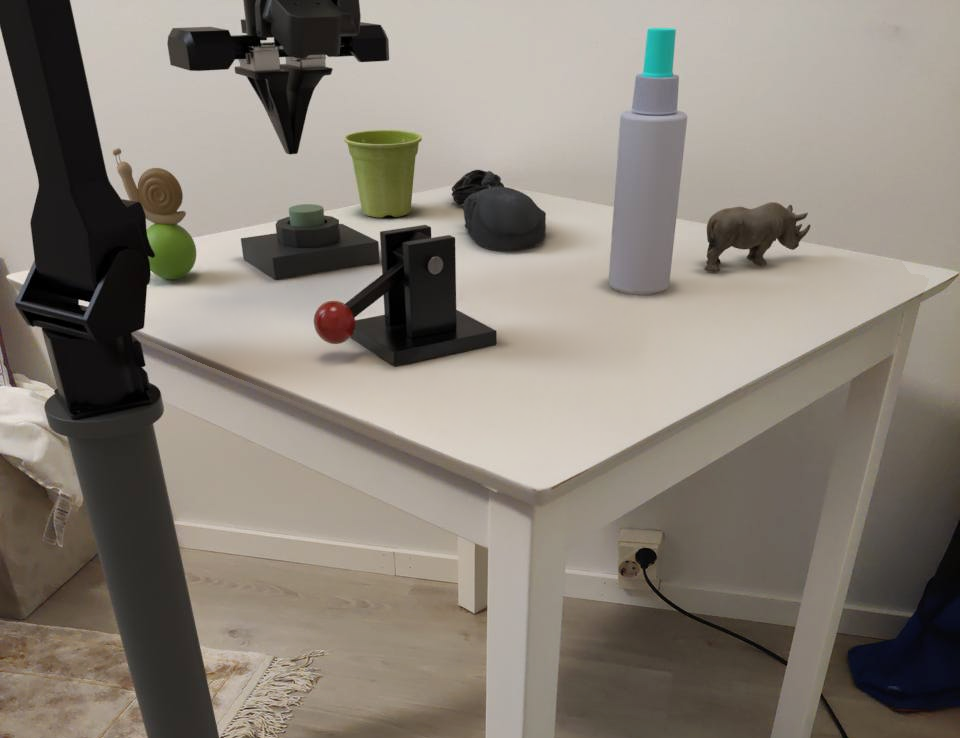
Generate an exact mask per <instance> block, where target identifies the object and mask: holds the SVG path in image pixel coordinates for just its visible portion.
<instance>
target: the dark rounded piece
mask: <svg viewBox="0 0 960 738" xmlns="http://www.w3.org/2000/svg"><path fill="white" fill-rule="evenodd" d="M450 189H451V196H452V198H453V199H452V200H453V201H454V203H457V204H460V205H462V206H463V218H464V227H465V229H466V231H467V233H468V236H469V237H470V238H471V240H472V241H473V242H474V243H475V244H476V245H478V246H479V247H482V248H484V249H489V250H494V251H519V250H527V249H531V248H535V247H537V246H538V245H540V244H541V243H543V241H544V239H545V238H546V227H547V226H546V225H547V224H546V221H547V218H546V216H547V214H546V211H545V210H543V209H541V208H540V207H539V206H538V205H537V203H535V202H534V200H533V199H532V198H531V197H530V196H529V195H527V194H526V193H523V192H521V191H520V190H518V189H515V188H512V187H507V186H505V185H504V183H503V182H502V178H501V176H500V175H498V174H496V173H494V172H493V171H491V170H487V171H486V170H482V169H474V170H471V171H469V172H467V173H465V174H464V175H462V177H460V179H458V180H457V181H456V183H455V184H453V185H452V187H451V188H450Z"/></svg>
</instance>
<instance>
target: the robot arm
mask: <svg viewBox="0 0 960 738" xmlns="http://www.w3.org/2000/svg"><path fill="white" fill-rule="evenodd" d="M242 2H243V10H244V18H243V19H242V18H241V19H240V26H241V34H238V35H237V34H235V35H234V34H233V35H232V34H231V32H230V30H229V29H225V28H219V27H214V26H196V27H195V26H194V27H193V26H192V27H191V26H190V27H172V28H171V30H170V32H169V34H168V36H167V41H166V42H167V44H166V45H167V52H168V55H169V56H168V58H169V64H170V66H172V67H176V68H179V69H183V70H186V71H190V72H205V71H221V70H222V71H224V70H230V68H231V66H232V65H233V63H234V62H235V61H236V60H238V63H239V65H238V66H233V67H234V73H235V74H236V75H239V76H244V77H246V79H247V80H248V82H249V84H250V86H251V87H252V89H253V91H254V92H255V94H256V96H257V97H258V99H259V100H260V102H261V104H262V107H263V108H264V109H265V112H266V114H267V116H268V118H269V121H270V123H271V124H272V127H273V129H274V131H275V134H276V135H277V137H278V139H279V142H280V144H281V146H282V148H283V151H284V152H285V153H286V154H287V155H298V153H299V149H300V145H301V140H302V136H303V131H304V128H305V127H304V126H305V123H306V117H307V114H308V109H309V106H310V103H311V99H312V97H313V94H314V91H315V89H316V87H317V86H318V85H319V83H320V81H321V80H322V79H323V77H325V76H331V75H332V73H333V70H334V68H332V67H328V66H327V64H326V59H327V57H328V58H342V57H354V58H355V60H356V61H357V62H358V63H372V62H373V63H374V62H375V63H376V62H388V61H390V47H389V45H390V44H389V43H390V42H389V41H390V40H389V37H388V35H387V32H386V31H385V29H384V27H382V25H381V24H378V23H372V22H371V23H370V22H363V21H361V19H362V15H361V5H360V0H242ZM72 7H73V6H72V1H71V0H0V32H1V36H2V41H3V45H4V48H5V52H6V57H7V60H8V61H7V62H8V65H9V68H10V71H11V76H12V81H13V84H14V88H15V92H16V96H17V101H18V104H19V108H20V112H21V116H22V120H23V124H24V128H25V132H26V136H27V140H28V144H29V148H30V152H31V155H32V159H33V163H34V167H35V168H34V169H35V171H36V176H37V182H38V189H37V193H36V197H35V202H34V205H33V210H32V213H31V218H30V223H29V224H30V232H31V233H30V234H31V241H32V248H33V258H34V260H33V262H32V265H31V267H30V269H29V271H28V273H27V275H26V278H25V280H24V282H23V284H22V286H21V289H20V290H19V293H18V295H17V297H16V300H15V302H14V306H15V308H16V310H17V311H18V313H19V315H20V316H21V317H22V319H23V320H24V322H25V324H26V325H27V326H29V327H33V328H34V327H37V328H41V331H42V332H41V333H42V337H43V340H44V344H45V348H46V351H47V355H48V359H49V363H50V366H51V370H52V374H53V378H54V381H55V385H56V389H54V390H53V392H54V394H55V396H56V398H57V399H58V401H59V402H60V403H61V405H62V406H63V408H64V409H65V411H66V412H67V413H68V415H69V416H70V418H71V419H72V420H80V419H84V418H89V417H94V416H98V415H103V414H108V413H113V412H117V411H122V410H127V409H132V408H136V407H141V406H146V405H150V404H151V403H152V401H151V397H150V396H149V395H148V394H147V393H146V392H145V391H147V390H149V388H150V384H149V383H150V380H149V375H148V372H147V371H146V370H145V369H144V368H145V367H146V360H145V355H144V350H143V346H142V342H141V341H140V340H139V339H138V338H137V337H136V336H135V335H134V334H133V333H135V332H138V331H140V330H143V329H144V328H145V321H146V308H147V295H148V294H147V293H148V285H150V282H151V274H152V271H150V261H149V258H148V257H151V258H154V257H155V254H154V252H153V250H152V248H151V246H150V243H149V240H148V237H147V219H146V216H145V212H144V210H143V207H142V205H141V203H140V202H136V201H130V199H124V198H121V196H120V195H119V193H118V192H117V189H115V187H114V186H113V185H112V183H111V181H110V179H109V176H108V172H107V168H106V163H105V158H104V154H103V149H102V144H101V140H100V134H99V130H98V129H99V128H98V125H97V120H96V116H95V111H94V106H93V102H92V101H93V100H92V97H91V96H92V95H91V92H90V88H89V83H88V77H87V74H86V69H85V64H84V60H83V55H82V50H81V45H80V39H79V36H78V30H77V25H76V22H75V17H74V12H73V11H74V10H73V8H72ZM270 38H271V39H273V41H267V40H268V39H270ZM263 41H264V42H263ZM326 56H327V57H326ZM280 58H285V63H281V61H280ZM80 301H83V302H86V303H88V306H86V305H82V304H79V303H80Z"/></svg>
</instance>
